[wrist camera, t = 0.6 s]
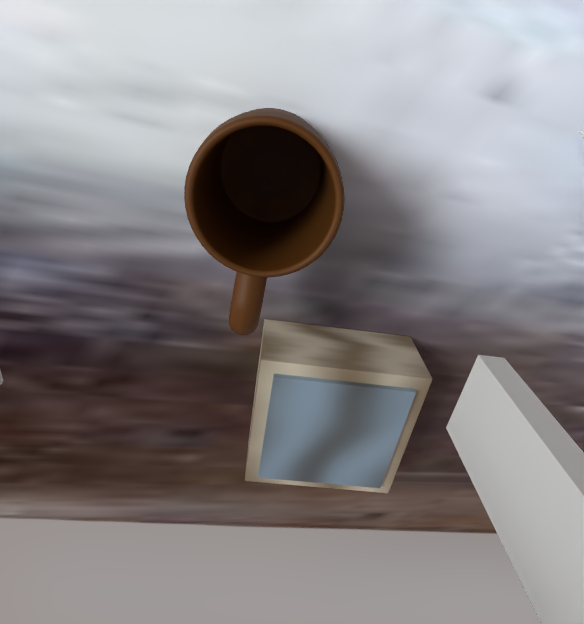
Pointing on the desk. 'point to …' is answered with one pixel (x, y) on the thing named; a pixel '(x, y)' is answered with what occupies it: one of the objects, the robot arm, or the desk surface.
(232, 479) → the desk surface
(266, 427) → the plinth
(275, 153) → the mug
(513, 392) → the robot arm
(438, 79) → the desk surface
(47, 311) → the desk surface
